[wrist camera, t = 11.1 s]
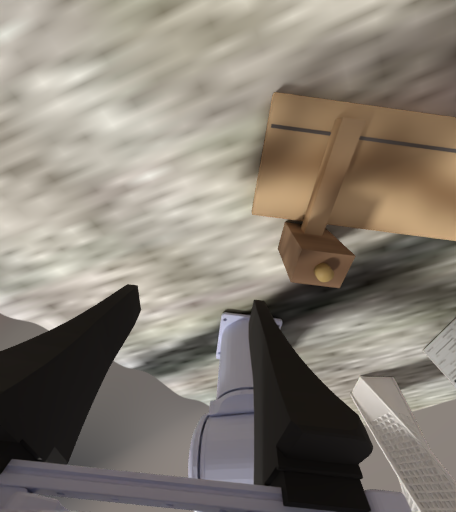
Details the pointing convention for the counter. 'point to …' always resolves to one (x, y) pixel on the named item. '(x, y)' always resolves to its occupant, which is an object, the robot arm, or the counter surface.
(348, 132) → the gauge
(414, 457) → the skyscraper
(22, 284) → the counter surface
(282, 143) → the board
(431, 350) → the light bulb box
